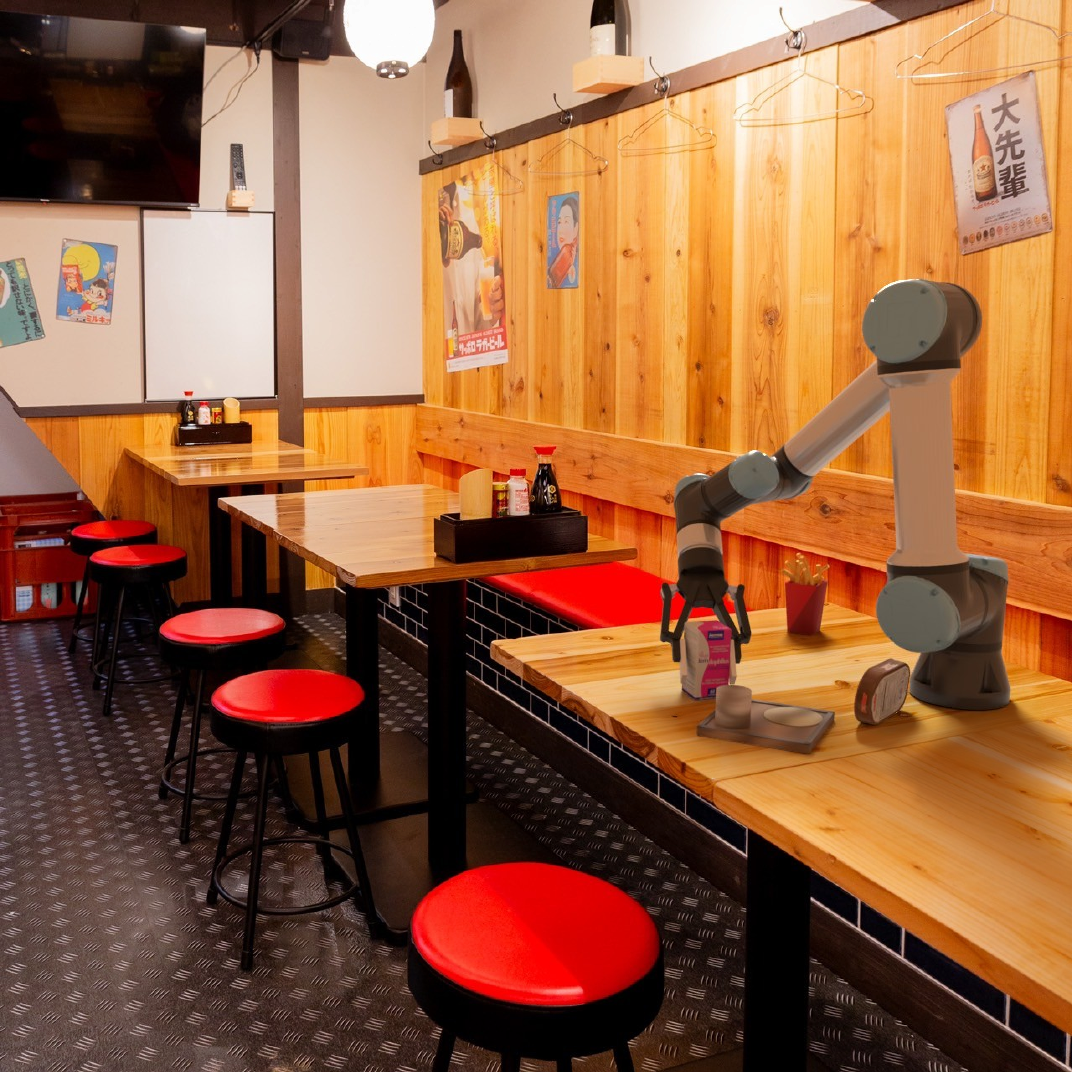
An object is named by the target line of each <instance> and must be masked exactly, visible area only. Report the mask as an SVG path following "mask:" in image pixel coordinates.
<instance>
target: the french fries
mask: <svg viewBox="0 0 1072 1072" xmlns="http://www.w3.org/2000/svg"><path fill="white" fill-rule="evenodd" d="M795 556H796V557H797V558H798V559H796V558H795V557H794V558H793V557H792V558H791V559H790V560H791V561H789V560H788V559H786V560H785V562H784V564H783V565H785V566H786V567H787V568H789V570H788V569H786V568H785V567H783V568H782V569H781V570H780V572H781V574H782V575H784V576H786V577H788V578H789V580H787V581H784V592H785V593H784V595H785V610H786V611H785V612H786V629H787V630H786V631H787V633H792V634H798V635H804V636H814V635H815V634H816V633H818V632H821V627H822V619H823V612H824V608H825V607H824V606H825V601H826V595H827V588H828V580H824V579H825V577H824V575H822V573H823V572H824V571H826V570H827V569H830V564H825V565H823V566H821V565H822V564H816V565H815V571H816V572H815V574H814V575H812V573H811V566H810V564H809V562H808V559H807V558H806V556H805V555H803V554H802V553H801V552H798V553H796V554H795ZM801 572H802V573H801Z"/></svg>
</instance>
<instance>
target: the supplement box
mask: <svg viewBox="0 0 1072 1072" xmlns="http://www.w3.org/2000/svg"><path fill="white" fill-rule="evenodd" d="M731 632H732V630H731V629H730V628H729V627H727V626H725V625H723V624H722V623H720V622H719V620H718V619H717V620H696V621H693V620H692V621H687V622H685V628H684V632H683V639H685V646H686V665H687V678H686V683H685V684H684V683H681V691H682V692H683V693H685V694H686V695H687V696H688V697H690V699H692V700H694V701H702V700H716V689H717V687H719V686H723V685H730V683H729V668H730V650H731Z"/></svg>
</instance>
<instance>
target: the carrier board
mask: <svg viewBox="0 0 1072 1072" xmlns="http://www.w3.org/2000/svg"><path fill="white" fill-rule="evenodd" d="M752 696H753V690H752V689H751V688H749V687H746V686H743V685H738V684H737V685H736V684H734V685H732V684H729V685H723V686H719V687H717V689H716V699H715V709H714V710H713V711H712V712H711V713H709V715H707V716H706V717H705V718H703V720H702V721H700V723H698V724H697V726H696V736H697V737H705V738H709V739H710V738H711V739H717V740H723V741H729V742H734V743H740V744H746V745H752V746H753V745H754V746H758V747H762V748H763V747H764V748H771V749H776V750H782V751H788V752H794V753H799V754H804V753H805V755H810V754H811V752H812V751H813V750H814V748H815V747H816V746H815V745H818V744H819V742H820V740H821V739H822V738H823V736H824V735H825V734H826V732H827V731H828V730H829V729H830V727H831V726H832V724H833V723H834V722H835V716H836V713H835V712H836V711H832V710H825V709H819V708H812V707H805V706H799V705H793V704H787V703H786V704H785V703H780V702H773V701H768V700H761V699H753V698H752ZM832 722H833V723H832ZM827 729H828V730H827ZM824 733H825V734H824ZM821 737H822V738H821ZM812 749H813V750H812ZM809 753H810V754H809Z"/></svg>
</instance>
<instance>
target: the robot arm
mask: <svg viewBox="0 0 1072 1072" xmlns="http://www.w3.org/2000/svg"><path fill="white" fill-rule="evenodd" d="M864 310H865V311H864V312H863V313H864V314H863V318H862V323H861V324H862V325H861V331H862V336H863V341H864V343H865V345H866V347H867V349H868V350H870V352H871V353H872V354H873V356H874V357H875V358H876V359H875V360H874V361H873V362H872V363H871V364H870V365H869V366H868V367H866V369H865V370H864V371H863V372H861V373H860V374H859V375H858V376H857V377H856V378H855V379H853V380H852V381H851V382H850V383H849V384H848V385H847V386H846V387H845V388H844V389H843V390H842V391H840V393H839V394H838V395H836V396H834V398H833V399H832V400H831V401H829V403H828V404H827V405H826V406H824V407H823V408H822V409H821V410H820V411H819V412H818V413H817V414H816V415H814V416H813V418H811V419H810V420H809V421H808V422H807V423H805V424H804V425H803V427H802V428H800V429H799V430H798V431H797V432H796V433H794V435H792V437H790V438H789V439H788V440H787V441H786V442H785V443H784V444H783V445H781V447H780V448H778V449H777V450H776V451H775V452H774V453H773V454H772V455H770V456H769V455H768V454H767V453H763V452H762V451H760V450H756V449H755V450H750V451H748V452H747V453H745V454H742V455H741V456H737V457H736V458H734V460H732V462H730V463H728V464H727V465H726V466H723V468H721V469H719V470H718V471H716V472H715V473H714V474H712V475H711V476H710V475H708V474H705V473H693V474H692V475H686V476H685V475H684V476H683V477H682V478H680V479H679V480H678V482H677V483H676V484H675V487H674V498H673V499H674V501H673V509H674V516H675V518H674V519H675V529H676V530H675V531H676V534H675V535H676V551H677V571H678V580H677V581H676V583H674V584H673V583H672V584H669V583H668V582H662V584H661V589H660V597H661V600H662V615H661V625H660V632H659V635H660V636H659V641H660V642H661V643H666V642H667V643H668V644H670V647H671V654H672V655H671V656H672V657H671V659H672V661H673V663H678V664H679V681H680V682H679V683H680V684H682V683H684V684H685V683H686V678H687V665H686V646H685V639H684V638H682V636H683V635H684V628H685V622H689V621H688V620H689V619H690V617H691V616H690V615H691V613H692V611H693V609H699V608H705V609H712V612H713V614H714V615H715V616H716V618H717V621H719V622H720V623H722V624H723V625H725V626H727V627H729V628H730V629H731V630H732V632H731V650H730V668H729V685H736V680H737V677H738V674H737V673H738V672H737V664H740V663H741V661H742V656H743V655H742V646H741V645H748V644H750V641H751V638H752V634H753V633H752V630H751V624H750V621H749V620H750V619H749V616H748V611H747V607H746V603H745V599H744V595H745V589H746V587H745V585H744V584H741V583H740V584H738V585H731V584H729V583H728V581H727V579H726V577H725V565H724V564H725V563H724V556H723V554H724V553H723V541H722V529H721V528H722V526H721V525H722V524H721V523H722V522H723V521H724V520H727V519H728V518H730V517H731V516H733V515H734V514H736V513H738V512H739V511H741V510H743V509H744V508H745V509H746V508H747V507H749V506H751V505H756V504H762V503H768V502H773V501H779V500H791V499H795V498H796V497H798V496H801V495H803V494H804V493H806V492H807V491H808V490H809V489H810V487H811V485H812V483H813V480H814V477H815V476H816V475H818V473H819V472H821V471H822V470H823V469H824V468H825V467H827V466H828V465H829V464H830V463H831V462H833V460H835V459H836V458H837V457H838V456H839V455H841V454H842V452H844V451H845V450H846V449H847V448H849V446H850V445H852V444H853V443H854V442H855V441H856V440H858V439H859V438H860V437H861V436H863V434H865V433H866V432H867V431H868V430H869V429H871V427H873V426H874V425H875V424H876V423H877V422H878V421H880V420H881V419H882V418H883V417H884V416H886V414H888V413H889V416H890V417H889V418H890V440H891V441H890V443H891V460H892V461H891V462H892V481H893V482H892V483H893V504H894V523H895V525H894V526H895V527H894V528H895V546H896V548H895V550H894V551H893V552H892V554H890V556H889V557H888V558H887V559H886V577H887V578H886V579H887V581H886V584H885V585H884V586H883V588H882V589H881V591H880V592H879V594H878V596H877V600H876V603H875V604H876V605H875V615H876V618H877V622H878V625H879V627H880V629H881V631H882V632H883V634H884V635H885V636H886V637H887V638H888V639H889V640H890V641H891V642H892V643H893V644H894V645H896V646H897V647H899V648H901V649H903V650H905V651H907V652H910V653H915V654H917V653H918V654H919V656H918V658H917V660H916V662H915V665H914V667H913V670H912V672H911V673H910V677H909V685H908V692H909V691H910V692H909V693H910V694H911V696H913V697H914V696H915V697H914V698H916V699H918V700H921V701H923V702H926V703H928V704H932V705H936V706H940V707H945V708H950V707H952V708H951V709H960V710H970V711H971V710H972V711H974V710H976V711H978V710H979V711H982V710H983V711H985V710H987V711H988V710H995V709H1000V708H999V707H1001V708H1003V707H1006V706H1007V705H1009V704H1010V702H1011V701H1010V699H1011V683H1010V681H1009V677H1008V673H1007V669H1006V665H1005V662H1004V658H1003V653H1002V651H1003V640H1004V630H1005V629H1004V628H1005V619H1006V618H1005V617H1006V608H1007V596H1008V585H1009V584H1010V579H1009V565H1008V563H1007V562H1006V561H1005V560H1004V559H1002V558H998V557H995V556H989V555H981V554H973V553H964V552H963V551H962V550H961V549H960V548H959V545H958V536H957V534H958V533H957V532H958V531H957V513H956V512H957V511H956V509H957V508H956V507H957V506H956V505H957V504H956V487H955V484H956V483H955V482H956V481H955V465H954V464H955V462H954V438H953V435H954V434H953V418H952V417H953V415H952V414H953V413H952V392H951V388H952V387H951V386H952V385H951V383H952V381H953V380H954V379H955V378H956V377H957V376H958V375H959V374H960V372H961V370H962V361H961V359H962V358H963V357H964V356H965V355H966V354H967V353H968V352H969V351H970V350H971V349H972V348H973V347H974V346H975V344H976V342H977V340H978V339H979V337H980V334H981V330H982V327H983V314H982V313H983V312H982V309H981V306H980V303H979V301H978V300H977V298H976V297H975V296H974V295H973V294H972V293H971V291H969V290H968V289H967V288H965V287H963V286H961V285H959V284H955V283H951V282H941V281H940V282H939V281H932V280H927V279H923V278H915V279H914V278H910V279H904V280H903V279H902V280H898V281H895V282H894V281H893V282H891V283H889V284H888V285H885V286H884V287H883V288H881V289H880V290H879V291H878V292H877V293H876V294H875V295H874V296H873V298H871V300H870V301H869V302H868V304H867V306H866V308H865V309H864ZM676 593H678V595H679V596H681V598H682V599H683V600H684V604H683V606H682V609H681V612H680V615H679V617H678V620H677V622H676V625H675V627H674V630H673V631H670V621H671V611H672V601H673V600H672V599H673V598H675V597H676ZM726 594H728V595H729V596H730V599H731V600H732V601H733V607H734V611H735V615H736V620H737V621H736V622H737V623H738V628H737V626H736V624H735V622H734V621H733V619H732V616H731V614H730V613H729V610H728V608H727V607H726V605H725V602H724V596H725V595H726ZM738 630H739V631H738ZM1009 701H1010V702H1009ZM1008 703H1009V704H1008Z"/></svg>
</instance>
